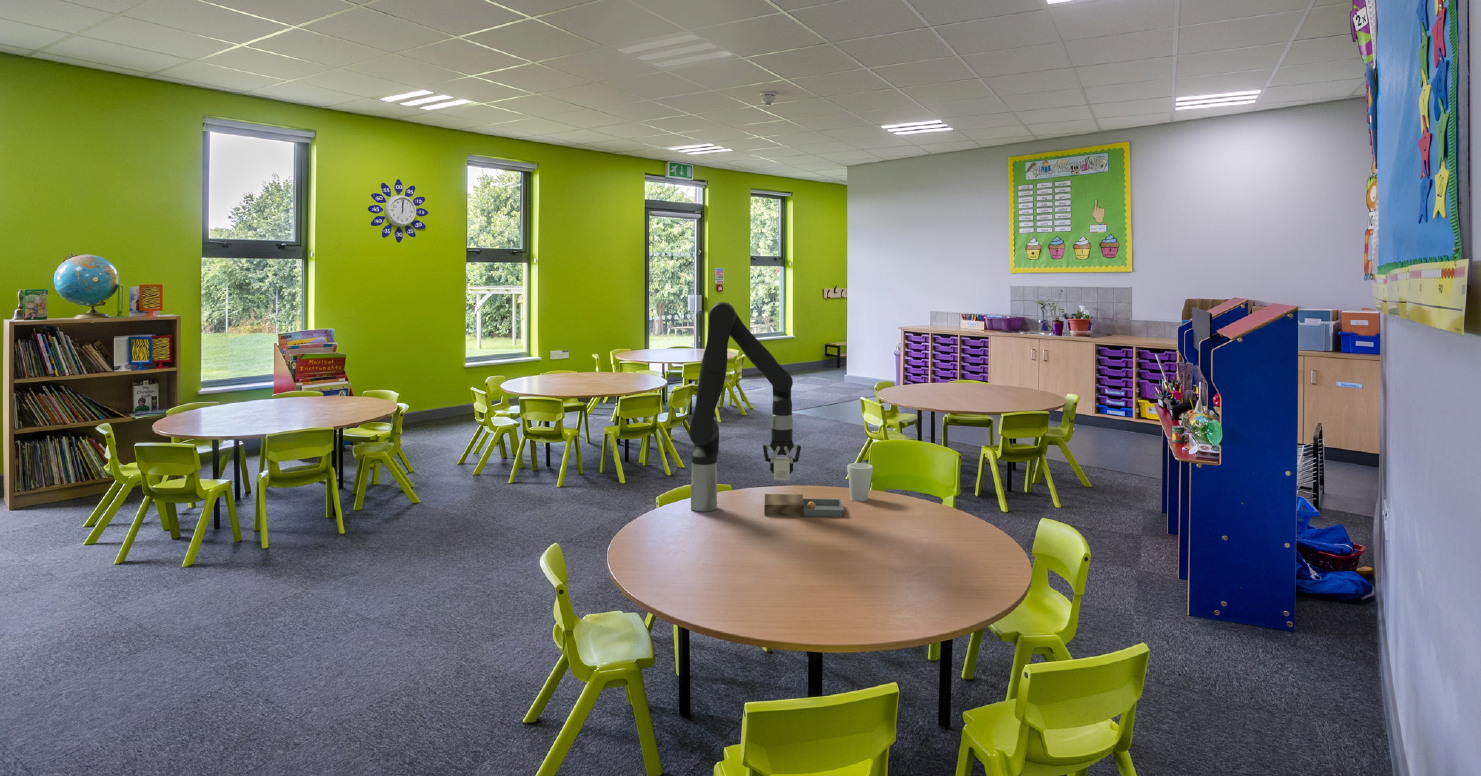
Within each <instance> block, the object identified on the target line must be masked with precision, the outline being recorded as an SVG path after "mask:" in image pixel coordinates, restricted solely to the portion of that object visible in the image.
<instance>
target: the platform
mask: <svg viewBox="0 0 1481 776" xmlns="http://www.w3.org/2000/svg"><path fill="white" fill-rule="evenodd" d="M803 499H804V495H803V494H797V493H795V494H792V493H791V494H789V493H788V494H786V493H785V494H783V493H781V494H780V493H764V515H763V516H769V517H771V516H772V517H775V516H777V517H778V516H779V517H805V516H804V500H803Z"/></svg>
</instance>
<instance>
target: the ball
mask: <svg viewBox="0 0 1481 776" xmlns="http://www.w3.org/2000/svg"><path fill="white" fill-rule="evenodd" d="M807 507H808V508H809V509H814V508H815V507H816V505H815V503H814V502H812V501H811V502H809V503H808V504H807Z"/></svg>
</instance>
